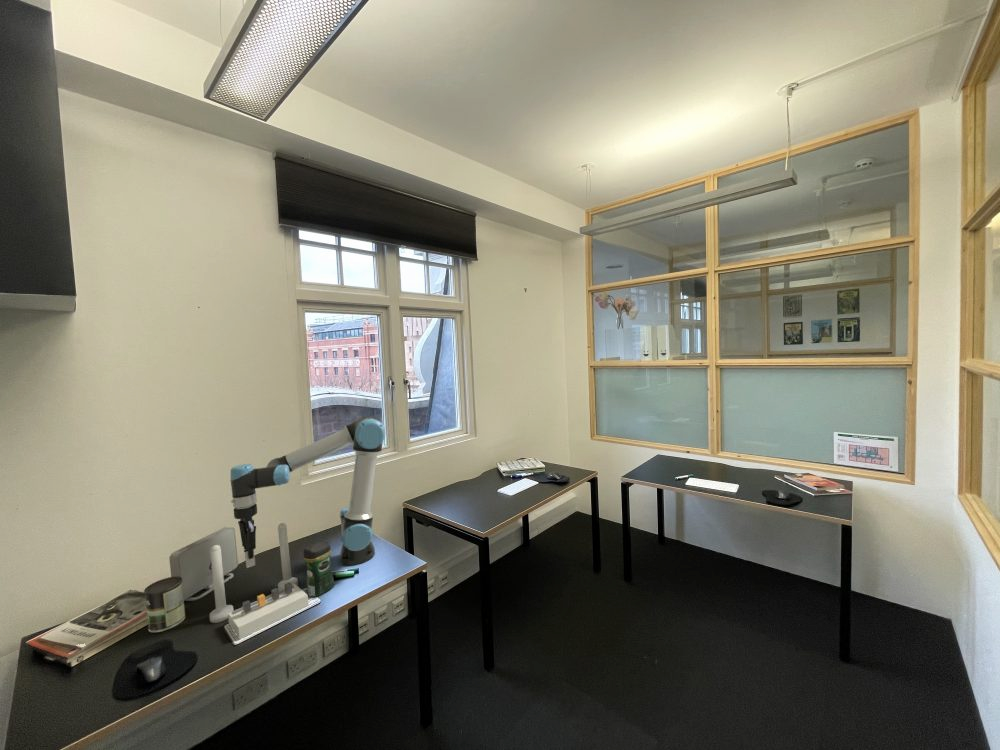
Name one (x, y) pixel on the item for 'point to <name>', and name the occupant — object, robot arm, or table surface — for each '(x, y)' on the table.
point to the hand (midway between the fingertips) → (250, 565)
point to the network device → (203, 562)
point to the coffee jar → (318, 568)
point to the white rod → (285, 558)
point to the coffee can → (164, 604)
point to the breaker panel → (267, 612)
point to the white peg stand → (218, 587)
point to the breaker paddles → (262, 601)
